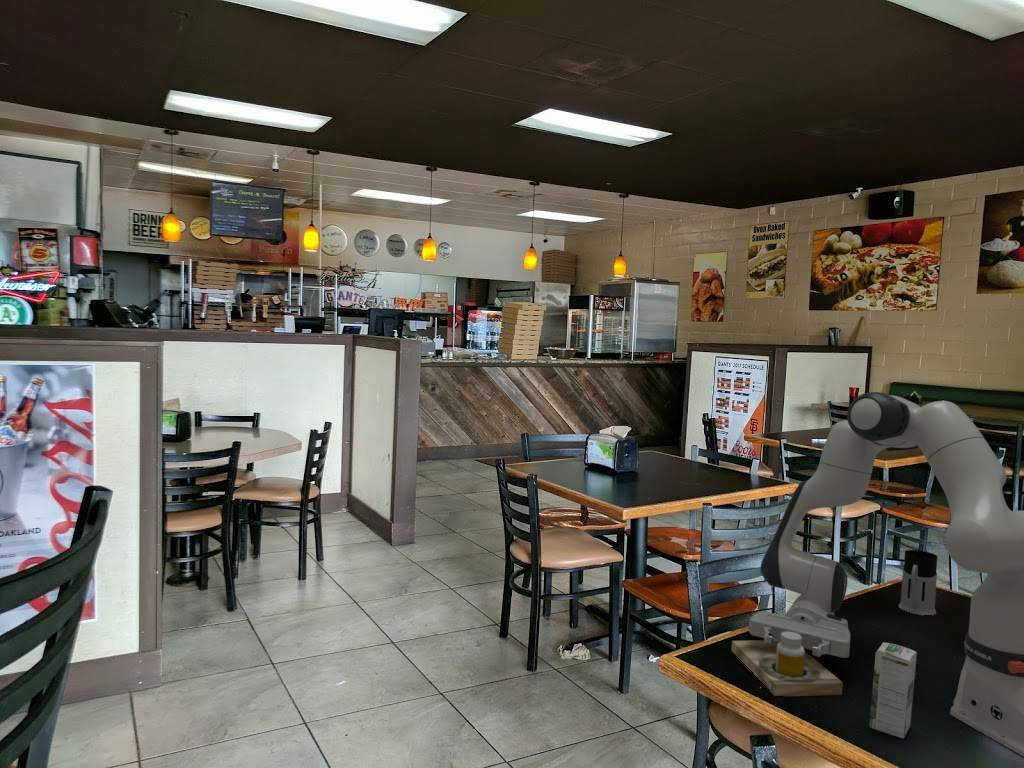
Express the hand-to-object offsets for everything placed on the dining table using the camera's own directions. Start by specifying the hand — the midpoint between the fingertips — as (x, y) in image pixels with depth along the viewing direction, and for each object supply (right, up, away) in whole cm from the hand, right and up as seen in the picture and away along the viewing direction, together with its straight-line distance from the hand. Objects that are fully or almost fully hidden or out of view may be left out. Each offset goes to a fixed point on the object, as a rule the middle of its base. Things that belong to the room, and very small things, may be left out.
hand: (791, 646), depth 145 cm
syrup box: (+11, -9, -17) cm, 22 cm away
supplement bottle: (-1, -7, 0) cm, 7 cm away
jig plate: (0, -7, +4) cm, 8 cm away
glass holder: (+49, -6, +41) cm, 64 cm away
